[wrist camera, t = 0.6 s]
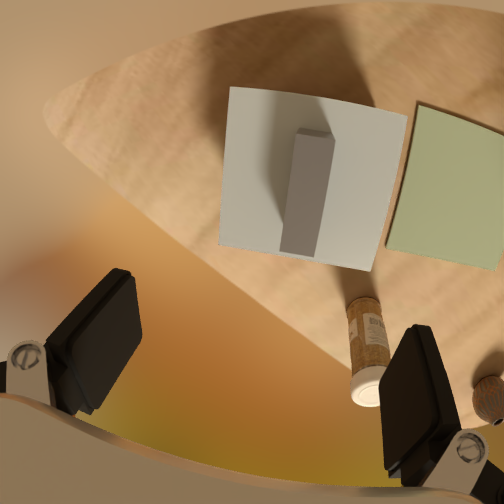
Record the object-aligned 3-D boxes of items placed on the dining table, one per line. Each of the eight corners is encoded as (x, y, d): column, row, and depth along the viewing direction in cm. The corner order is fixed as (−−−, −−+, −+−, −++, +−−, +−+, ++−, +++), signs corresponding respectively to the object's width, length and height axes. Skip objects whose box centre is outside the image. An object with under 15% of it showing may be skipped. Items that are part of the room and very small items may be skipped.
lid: (399, 114, 22) (425, 120, 16) (366, 257, 28) (376, 299, 22) (238, 87, 23) (213, 85, 18) (226, 232, 30) (203, 268, 24)
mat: (531, 149, 24) (533, 150, 24) (493, 269, 32) (494, 271, 32) (417, 105, 26) (419, 105, 26) (385, 247, 34) (385, 248, 34)
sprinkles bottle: (339, 309, 39) (341, 394, 27) (368, 289, 37) (382, 373, 25) (359, 329, 40) (366, 413, 28) (388, 311, 38) (405, 395, 26)
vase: (507, 367, 38) (523, 405, 31) (492, 393, 42) (504, 430, 34) (477, 371, 40) (492, 412, 32) (463, 397, 43) (473, 437, 35)
